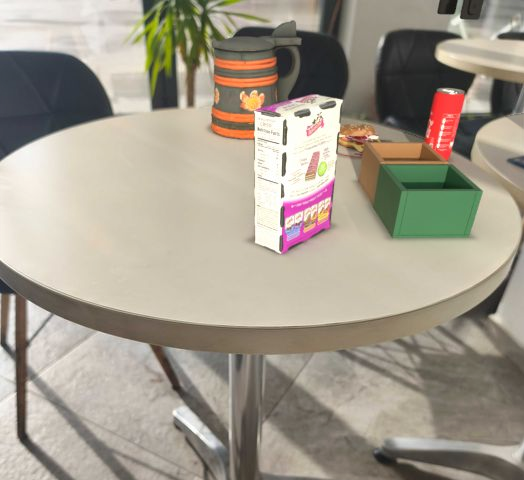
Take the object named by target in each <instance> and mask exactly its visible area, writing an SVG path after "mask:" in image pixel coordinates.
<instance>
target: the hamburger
mask: <svg viewBox="0 0 524 480" xmlns="http://www.w3.org/2000/svg"><path fill="white" fill-rule="evenodd" d="M379 135H380V133H379V132H378V131H376V128H375V127H374V126H373V125H371V124H368V123H358V124H355V123H353V124H344V125H340V132H339V143H338V145H340V146H342V147H345V148H347V149H356V150H357V151H358V152H356V153H354V155H348V154H343V153H339V152H338V153H337V155H339V156H340V155H341V156H344V157H350V158H358V159H362V155H363V148H364V142H382V141H381V139H379V138H380V136H379Z"/></svg>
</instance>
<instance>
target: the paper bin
mask: <svg viewBox="0 0 524 480" xmlns="http://www.w3.org/2000/svg"><path fill="white" fill-rule="evenodd" d="M362 152H363V155H362V156H361V157H362V158H361V162H360V168H359V169H360V170H359V175H358V176H359V177H358V183H359V185H360V186H361V189H362V190H363V191H364V193H365V194H366V196H367V197H368V199H369V200H370V203H371V204H372V205H373V204H374V198H375V192H376V186H377V180H378V174H379V168H380V164H450V162H449V161H448V160H445V159H444V158H443V157H442V156H441V155H440V154H439V153H437V152H436V151H435V150H434V149H433V148H432V147H431V146H429V145H428V144H427V143H426V142H424V141H423V142H421V141H420V142H419V141H417V142H416V141H381V142H364V148H363V151H362Z"/></svg>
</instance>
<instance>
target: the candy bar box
mask: <svg viewBox="0 0 524 480" xmlns="http://www.w3.org/2000/svg"><path fill="white" fill-rule="evenodd" d="M343 103H344V99H341V98H337V97H331V96H327V95H321V94H312V93H311V94H308V95H304V96H300V97H296V98H293V99H289V101H285V102H281V103H277V104H274V105H270V106H266V107H263V108H259V109H255V110H254V139H253V149H254V150H253V162H254V163H253V166H254V167H253V171H254V172H253V173H254V181H253V182H254V184H253V185H254V187H253V188H254V189H253V190H254V191H253V192H254V193H253V196H254V203H253V204H254V212H253V213H254V244H255V245H257V246H259V247H261V248H265V249H267V250H270V251H272V252H274V253H277V254H279V255H283V254H285V253H288V252H289V251H290V250H293V249H294V248H296V247H298V246H299V245H301V244H303V243H305V242H306V241H308V240H310V239H312V238H314V237H316V236H317V235H319V234H321V233H323V232H324V231H326V230H328V229H330V228H331V223H332V214H333V213H332V211H333V203H334V193H335V181H336V172H337V163H338V154H337V153H339V132H340V127H341V122H342V121H341V120H342V111H343Z"/></svg>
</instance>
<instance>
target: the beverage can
mask: <svg viewBox="0 0 524 480" xmlns="http://www.w3.org/2000/svg"><path fill="white" fill-rule="evenodd" d="M465 100H466V96H465V90H463V89H459V88H452V87H440V88H437V89H436V92H435V93H434V94H433V99H432V104H431V108H430V112H429V116H428V117H429V118H428V122H427V127H426V131H425V136H424V141H423V142H426V143H427V144H428V145H429V146H431V147H432V148H433V149H434V150H435V151H436V152H437V153H439V154H440V155H441V156H442V157H443V158H444V159H445V160H447V161H448V160H449V159H450V157H451V154H452V151H453V147H454V142H455V138H456V134H457V131H458V127H459V123H460V118H461V114H462V111H463V106H464V103H465Z"/></svg>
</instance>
